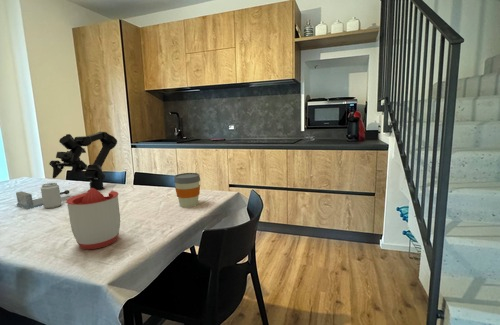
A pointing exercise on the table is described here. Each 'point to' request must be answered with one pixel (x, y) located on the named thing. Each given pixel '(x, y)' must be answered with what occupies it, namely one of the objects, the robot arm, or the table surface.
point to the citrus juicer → (94, 218)
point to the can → (51, 195)
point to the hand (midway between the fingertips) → (61, 178)
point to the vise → (30, 200)
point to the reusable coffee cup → (187, 189)
